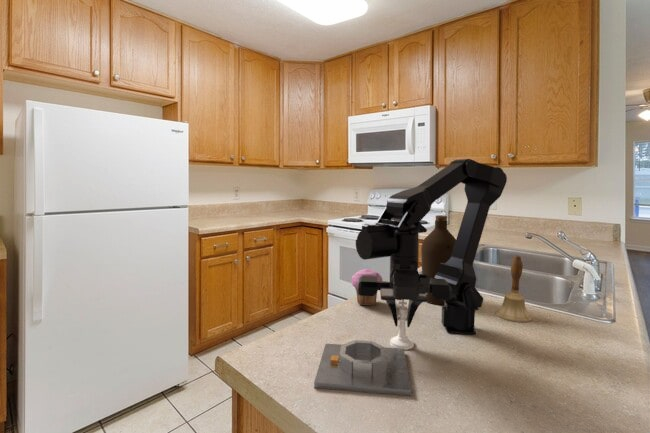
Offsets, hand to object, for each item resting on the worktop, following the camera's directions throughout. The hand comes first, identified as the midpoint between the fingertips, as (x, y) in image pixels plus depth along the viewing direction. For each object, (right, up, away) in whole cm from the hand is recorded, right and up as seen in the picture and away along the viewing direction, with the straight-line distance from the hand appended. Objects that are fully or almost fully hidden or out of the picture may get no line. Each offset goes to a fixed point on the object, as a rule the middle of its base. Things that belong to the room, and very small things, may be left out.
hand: (402, 326), depth 73 cm
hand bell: (+32, -3, +16) cm, 36 cm away
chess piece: (0, -4, 0) cm, 4 cm away
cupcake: (-5, -2, +25) cm, 26 cm away
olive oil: (+17, -1, +28) cm, 33 cm away
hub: (-10, -5, -9) cm, 14 cm away
